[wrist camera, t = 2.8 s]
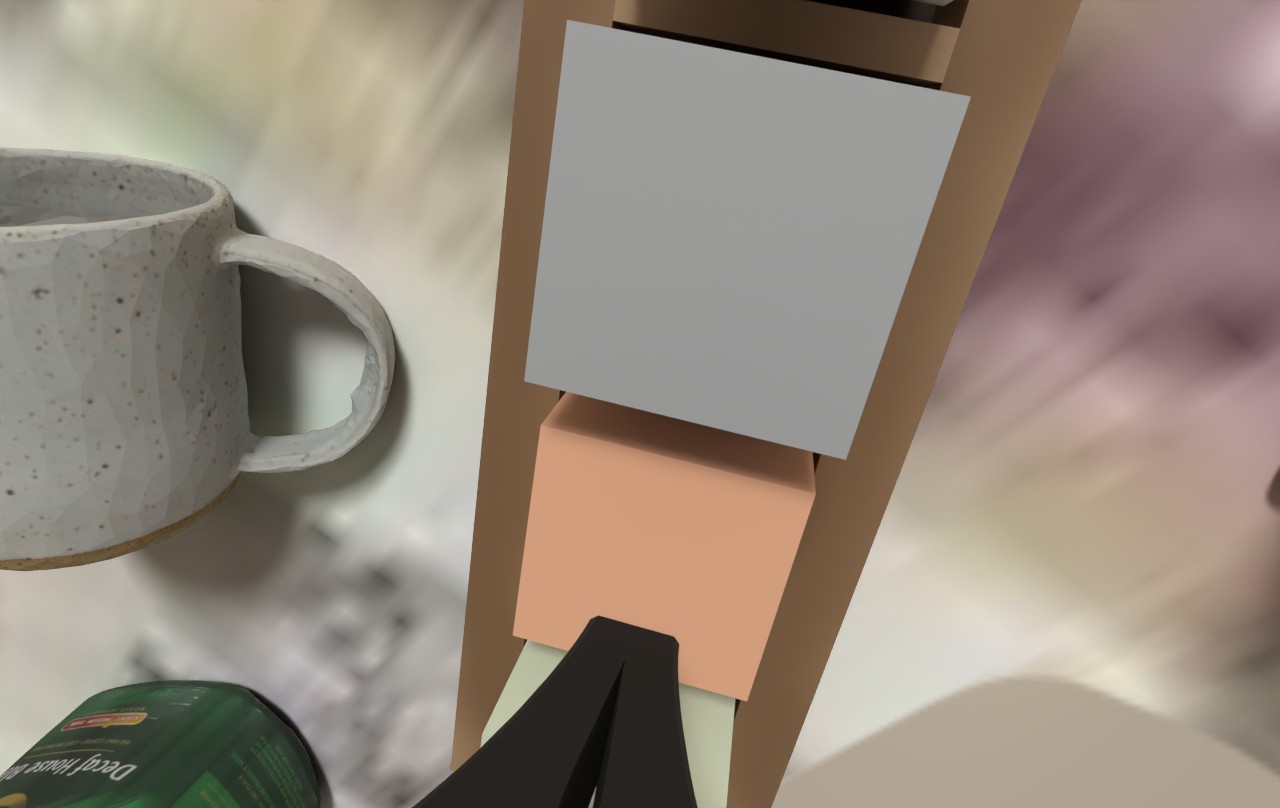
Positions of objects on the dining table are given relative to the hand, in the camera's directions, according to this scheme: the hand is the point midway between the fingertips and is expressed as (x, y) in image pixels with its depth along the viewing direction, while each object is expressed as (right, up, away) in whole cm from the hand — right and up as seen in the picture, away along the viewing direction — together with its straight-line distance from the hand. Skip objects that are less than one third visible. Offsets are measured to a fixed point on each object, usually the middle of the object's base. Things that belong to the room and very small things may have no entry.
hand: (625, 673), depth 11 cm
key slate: (+2, +8, +2) cm, 8 cm away
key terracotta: (+1, +3, +6) cm, 7 cm away
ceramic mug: (-11, +7, +9) cm, 16 cm away
